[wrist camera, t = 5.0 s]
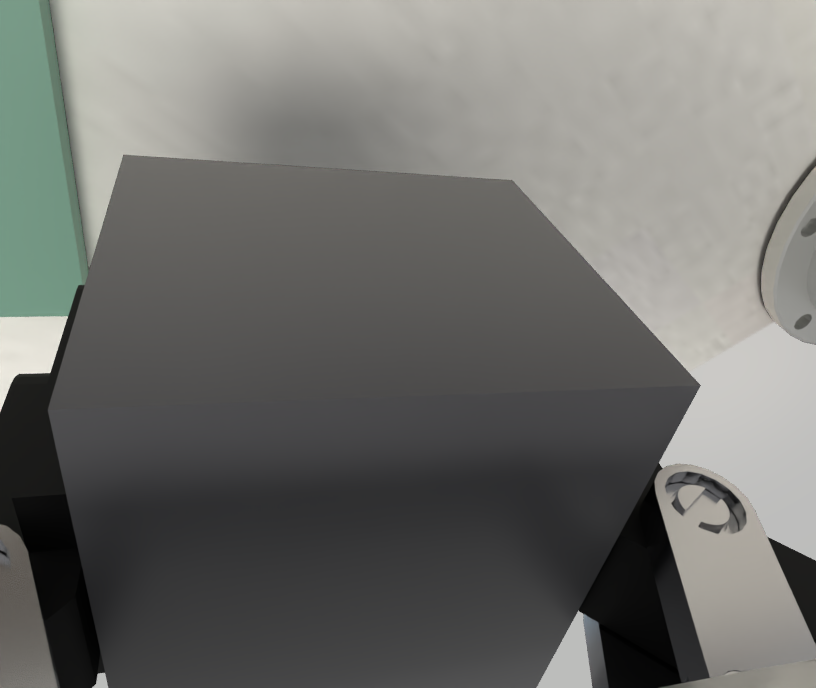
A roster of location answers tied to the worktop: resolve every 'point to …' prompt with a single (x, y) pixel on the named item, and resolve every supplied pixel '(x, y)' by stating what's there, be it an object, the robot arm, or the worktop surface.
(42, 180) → the header board
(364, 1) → the worktop surface
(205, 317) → the block
